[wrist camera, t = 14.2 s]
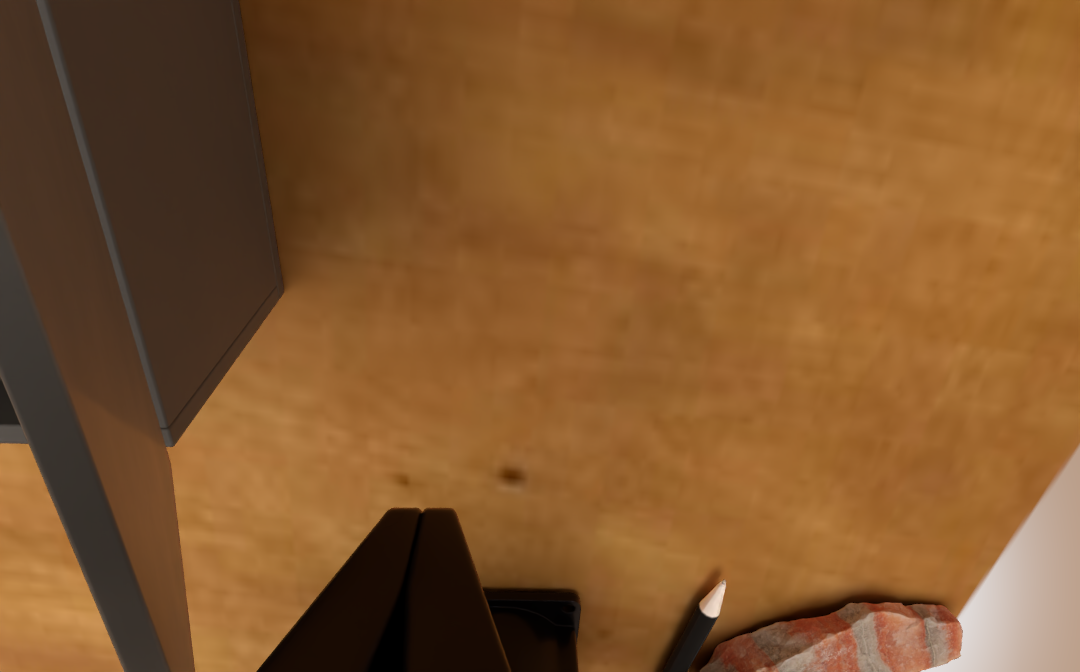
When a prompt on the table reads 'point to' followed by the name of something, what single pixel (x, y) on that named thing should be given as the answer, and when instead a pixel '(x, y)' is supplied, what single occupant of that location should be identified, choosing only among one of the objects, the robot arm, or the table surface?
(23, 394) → the flap
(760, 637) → the stone
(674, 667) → the black pencil
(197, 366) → the carton
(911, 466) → the table surface
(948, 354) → the table surface
